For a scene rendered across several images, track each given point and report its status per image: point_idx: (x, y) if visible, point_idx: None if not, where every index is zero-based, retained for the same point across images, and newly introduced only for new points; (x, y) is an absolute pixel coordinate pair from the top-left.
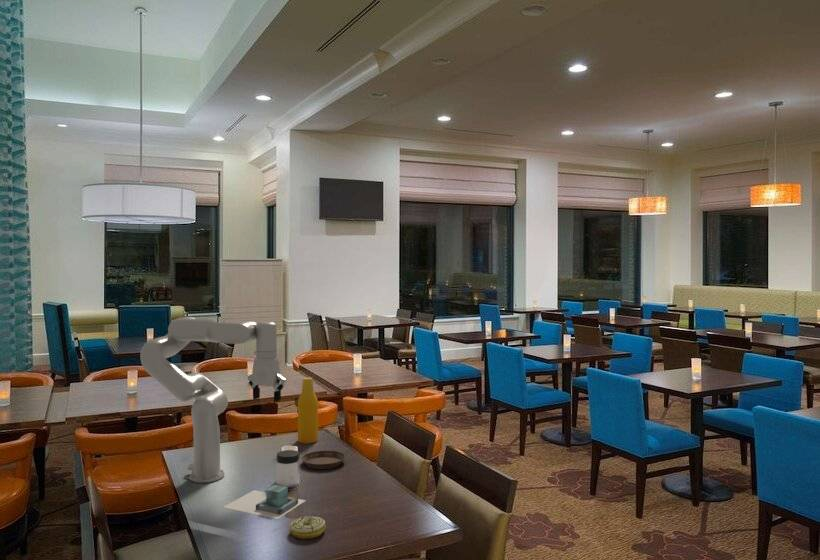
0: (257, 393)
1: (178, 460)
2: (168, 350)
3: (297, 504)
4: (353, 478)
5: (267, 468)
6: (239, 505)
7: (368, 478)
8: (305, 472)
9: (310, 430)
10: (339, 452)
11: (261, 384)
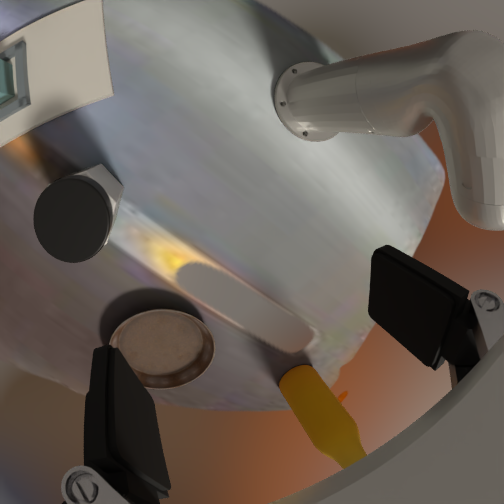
0: (402, 313)
1: (416, 148)
2: None
3: None
4: (38, 329)
5: (239, 235)
6: (72, 23)
7: (25, 346)
8: (138, 284)
9: (293, 395)
10: (166, 387)
11: (429, 442)
